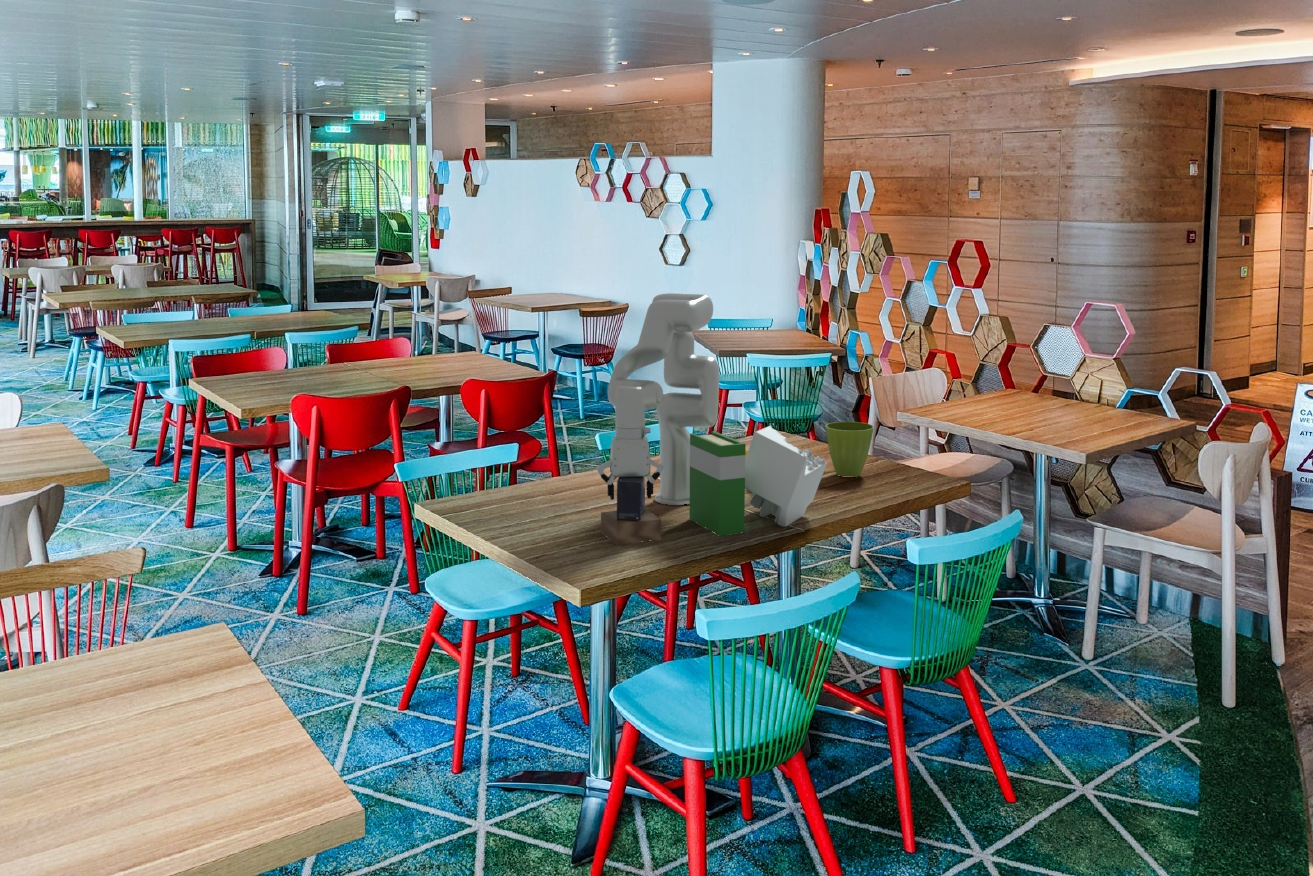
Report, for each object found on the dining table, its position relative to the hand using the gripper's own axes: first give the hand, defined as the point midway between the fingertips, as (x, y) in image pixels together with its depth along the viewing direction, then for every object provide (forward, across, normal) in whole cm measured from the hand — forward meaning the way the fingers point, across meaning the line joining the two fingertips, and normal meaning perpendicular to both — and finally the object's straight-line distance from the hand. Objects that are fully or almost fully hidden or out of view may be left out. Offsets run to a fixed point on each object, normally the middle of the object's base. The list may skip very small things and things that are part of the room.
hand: (630, 497), depth 299 cm
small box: (+5, 0, 0) cm, 5 cm away
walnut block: (+11, 0, 0) cm, 11 cm away
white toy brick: (+10, -43, -9) cm, 45 cm away
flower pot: (+10, -77, -56) cm, 96 cm away
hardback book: (+10, -24, -6) cm, 27 cm away
